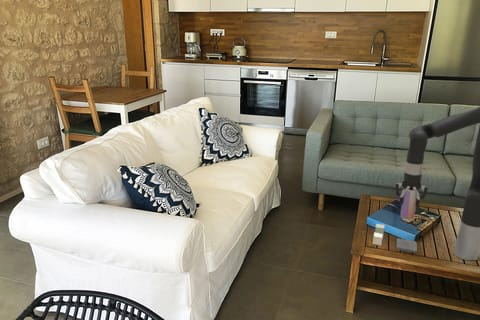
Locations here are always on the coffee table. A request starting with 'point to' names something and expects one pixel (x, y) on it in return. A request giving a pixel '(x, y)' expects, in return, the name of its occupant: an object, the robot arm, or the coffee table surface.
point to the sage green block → (379, 228)
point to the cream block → (377, 239)
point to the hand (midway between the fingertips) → (408, 204)
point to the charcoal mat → (406, 245)
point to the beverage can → (409, 204)
